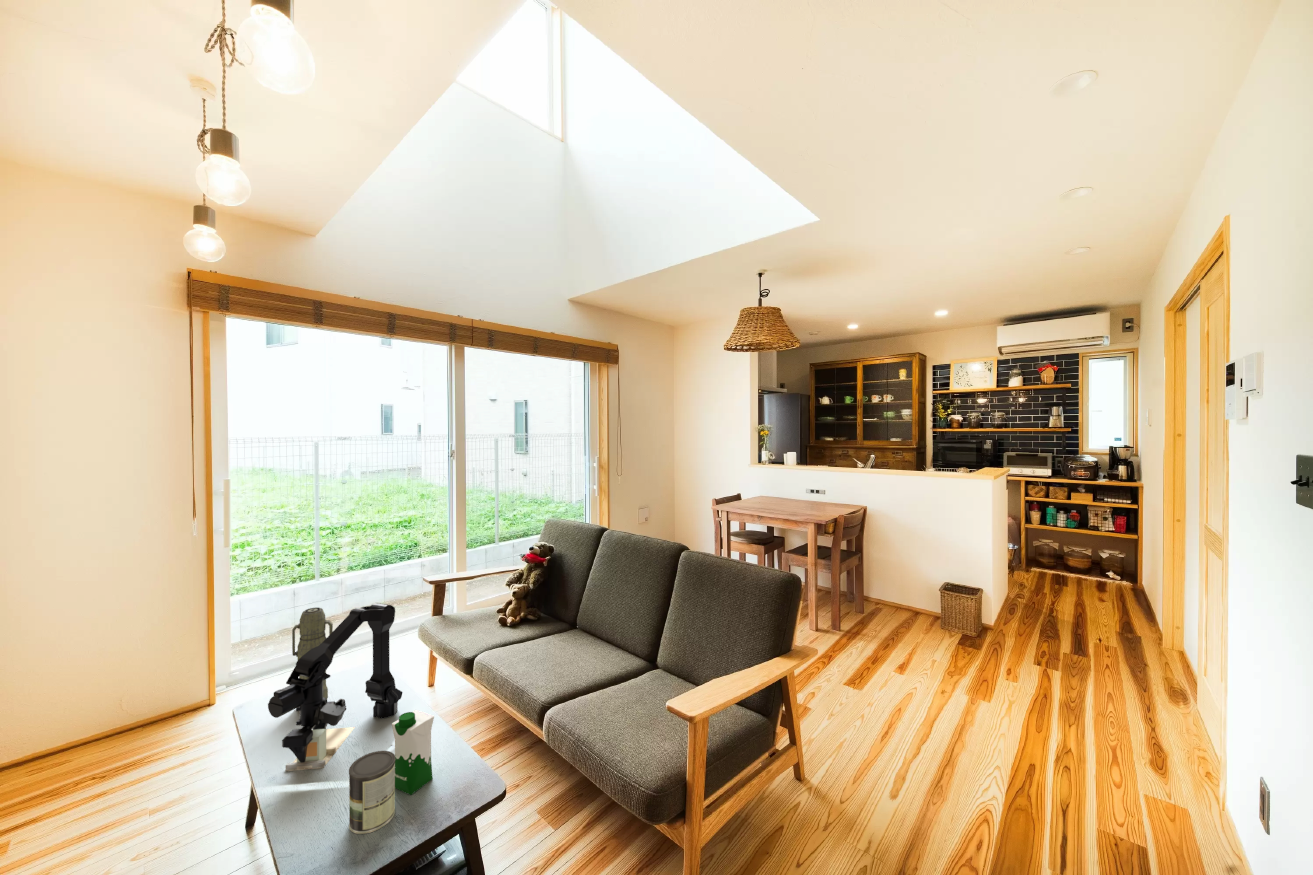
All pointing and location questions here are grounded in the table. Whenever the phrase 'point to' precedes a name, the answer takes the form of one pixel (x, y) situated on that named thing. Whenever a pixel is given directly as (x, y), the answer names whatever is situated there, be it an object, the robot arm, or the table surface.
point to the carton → (316, 746)
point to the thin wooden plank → (332, 744)
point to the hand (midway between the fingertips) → (311, 751)
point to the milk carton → (412, 751)
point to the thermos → (311, 635)
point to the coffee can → (371, 792)
